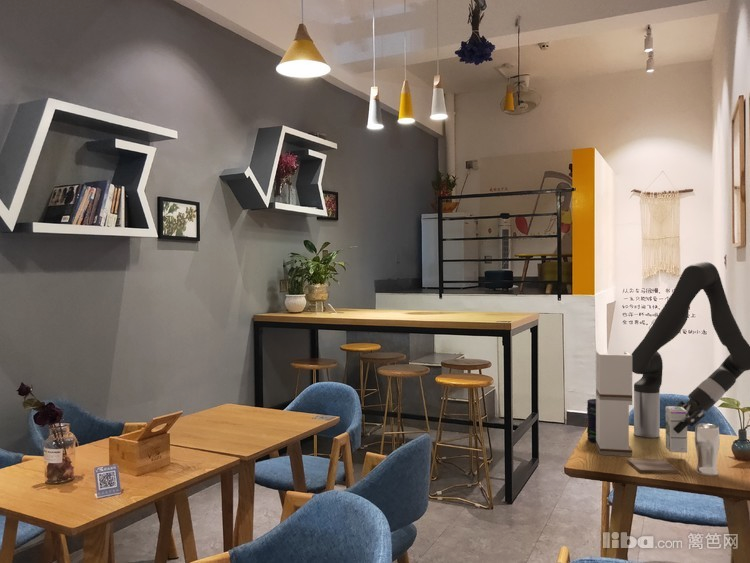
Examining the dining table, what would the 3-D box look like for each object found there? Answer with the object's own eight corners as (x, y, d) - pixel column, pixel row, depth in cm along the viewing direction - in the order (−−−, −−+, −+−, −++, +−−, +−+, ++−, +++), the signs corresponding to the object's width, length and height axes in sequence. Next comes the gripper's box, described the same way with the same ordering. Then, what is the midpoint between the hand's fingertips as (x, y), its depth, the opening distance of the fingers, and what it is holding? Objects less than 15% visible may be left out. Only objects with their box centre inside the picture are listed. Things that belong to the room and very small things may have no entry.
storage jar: (619, 440, 234) (619, 401, 234) (606, 445, 228) (606, 405, 227) (595, 435, 242) (594, 397, 241) (582, 440, 235) (581, 401, 235)
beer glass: (711, 469, 200) (711, 422, 200) (724, 476, 193) (724, 428, 193) (690, 469, 200) (690, 423, 199) (702, 476, 193) (702, 428, 193)
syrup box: (687, 453, 208) (688, 410, 208) (669, 452, 209) (669, 409, 209) (683, 448, 214) (683, 406, 214) (664, 447, 215) (665, 405, 215)
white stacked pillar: (632, 456, 214) (632, 355, 214) (599, 454, 217) (599, 354, 217) (626, 447, 226) (626, 351, 225) (596, 445, 228) (595, 350, 228)
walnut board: (626, 461, 208) (626, 458, 208) (663, 461, 208) (663, 459, 208) (640, 473, 196) (640, 469, 196) (678, 473, 196) (678, 470, 196)
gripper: (689, 382, 218) (654, 415, 219) (709, 391, 204) (672, 426, 204) (704, 397, 218) (669, 430, 219) (725, 407, 204) (688, 442, 204)
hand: (671, 428), depth 212 cm, fingers closed on syrup box, 6 cm apart
